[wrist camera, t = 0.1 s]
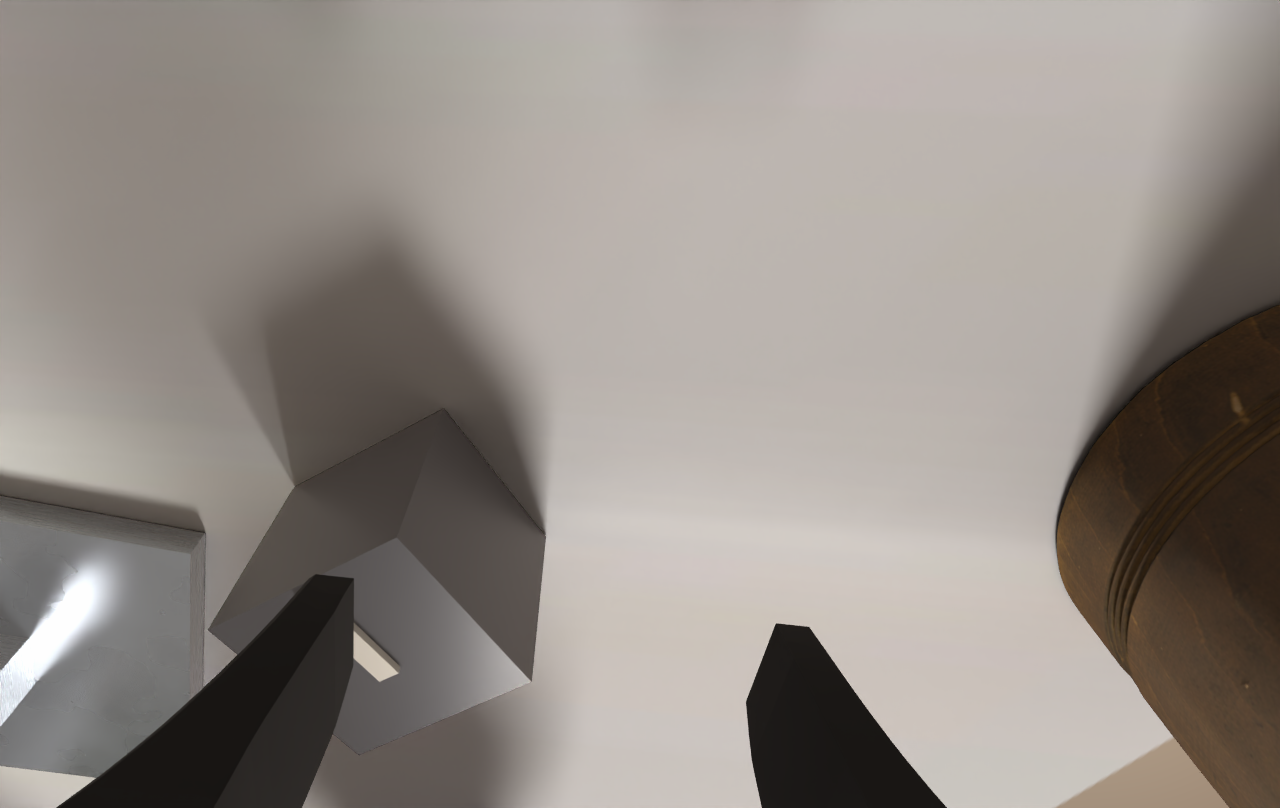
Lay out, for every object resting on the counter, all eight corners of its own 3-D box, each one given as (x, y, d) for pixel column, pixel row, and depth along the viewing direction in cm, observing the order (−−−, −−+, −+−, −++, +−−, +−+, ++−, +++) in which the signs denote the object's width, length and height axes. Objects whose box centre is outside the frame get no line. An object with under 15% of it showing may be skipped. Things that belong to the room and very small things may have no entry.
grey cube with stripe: (545, 536, 24) (530, 688, 19) (406, 602, 26) (356, 761, 20) (443, 408, 22) (394, 543, 17) (294, 487, 23) (204, 636, 18)
